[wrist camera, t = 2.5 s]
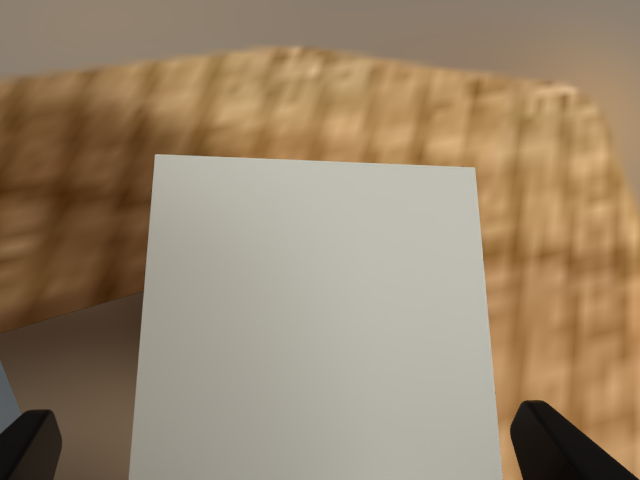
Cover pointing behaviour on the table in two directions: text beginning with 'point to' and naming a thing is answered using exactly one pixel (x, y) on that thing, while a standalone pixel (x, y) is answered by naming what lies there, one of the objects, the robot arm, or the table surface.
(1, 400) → the socket cup
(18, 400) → the walnut board
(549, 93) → the table surface
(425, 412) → the tower
